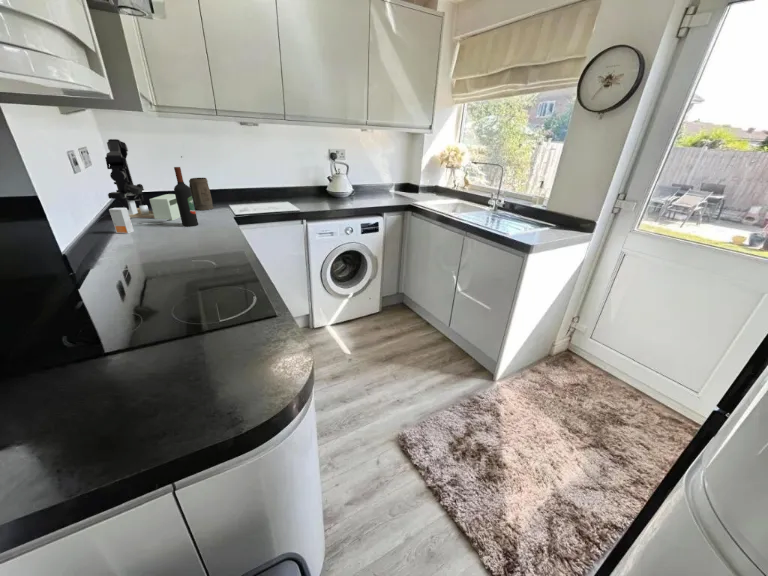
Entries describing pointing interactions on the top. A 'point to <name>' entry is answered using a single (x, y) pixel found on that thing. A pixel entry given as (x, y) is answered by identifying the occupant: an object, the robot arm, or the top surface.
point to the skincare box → (121, 220)
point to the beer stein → (201, 193)
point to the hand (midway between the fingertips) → (130, 209)
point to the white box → (132, 207)
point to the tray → (142, 215)
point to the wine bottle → (184, 201)
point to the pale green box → (165, 207)
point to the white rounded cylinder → (144, 210)
